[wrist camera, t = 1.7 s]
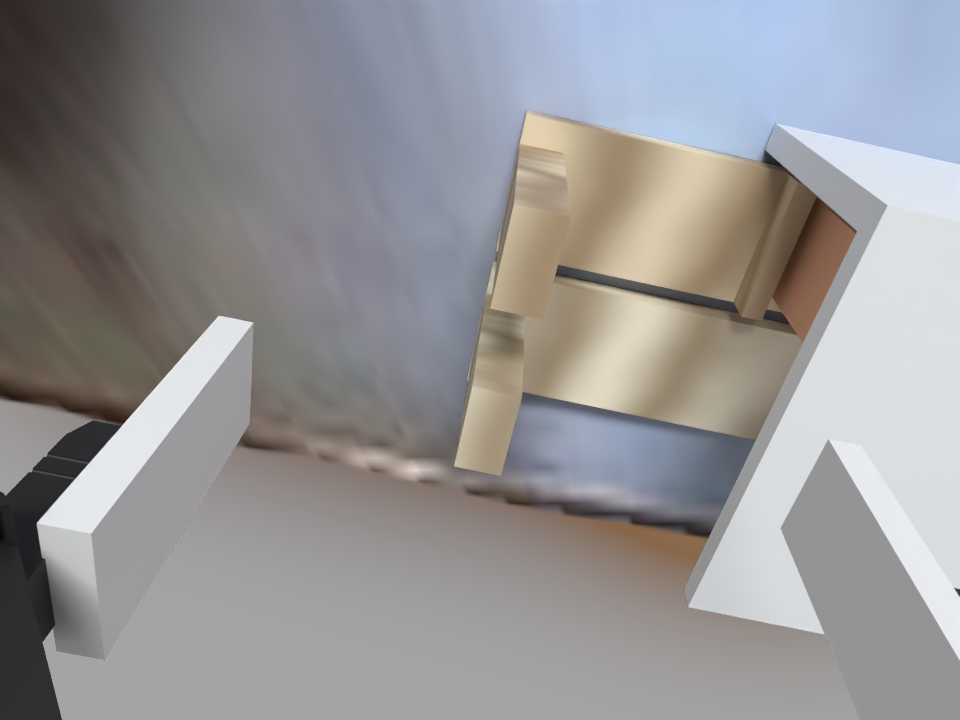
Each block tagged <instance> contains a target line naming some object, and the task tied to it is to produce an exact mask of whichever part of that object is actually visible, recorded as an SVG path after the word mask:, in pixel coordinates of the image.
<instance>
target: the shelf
mask: <svg viewBox="0 0 960 720" xmlns="http://www.w3.org/2000/svg"><path fill="white" fill-rule="evenodd" d="M765 150H766V151H767V152H768V153H769V154H770V155H771V156H772V157H774V158H775V159H776V160H777V161H778V162H779V163H780V164H782V165H783V166H784V167H785V168H786V169H787V170H788V171H789V172H791V173H792V174H793V175H794V176H795V177H796V178H797V179H799V180H800V181H801V182H802V183H803V184H804V185H805V186H807V187H808V188H809V189H810V190H811V191H812V192H813V193H814V194H816V195H817V196H818V197H819V198H820V199H821V200H822V201H824V202H825V203H826V204H827V205H828V206H829V207H830V208H831V209H833V210H834V211H835V212H836V213H837V214H838V215H839V216H841V217H842V218H843V219H844V220H845V221H846V222H847V223H848V224H850V225H851V226H852V227H853V228H854V229H855V230H856V231H857V233H856V235H855V237H854V239H853V241H852V243H851V245H850V247H849V249H848V251H847V253H846V255H845V257H844V259H843V262H842V264H841V266H840V268H839V270H838V272H837V274H836V276H835V278H834V280H833V282H832V284H831V286H830V288H829V290H828V292H827V295H826V297H825V299H824V301H823V303H822V305H821V307H820V309H819V311H818V313H817V315H816V317H815V319H814V321H813V323H812V326H811V328H810V330H809V332H808V334H807V336H806V338H805V340H804V342H803V344H802V346H801V348H800V350H799V352H798V354H797V357H796V359H795V361H794V363H793V365H792V367H791V369H790V371H789V373H788V375H787V377H786V379H785V381H784V383H783V385H782V387H781V390H780V392H779V394H778V396H777V398H776V400H775V402H774V404H773V406H772V408H771V410H770V412H769V414H768V416H767V418H766V421H765V423H764V425H763V427H762V429H761V431H760V433H759V435H758V437H757V439H756V441H755V443H754V445H753V447H752V449H751V452H750V454H749V456H748V458H747V460H746V462H745V464H744V466H743V468H742V470H741V472H740V474H739V476H738V478H737V480H736V482H735V485H734V487H733V489H732V491H731V493H730V495H729V497H728V499H727V501H726V503H725V505H724V507H723V509H722V511H721V513H720V516H719V518H718V520H717V522H716V524H715V526H714V528H713V530H712V532H711V534H710V536H709V538H708V540H707V542H706V544H705V547H704V549H703V551H702V553H701V555H700V557H699V559H698V561H697V564H696V565H695V567H694V570H693V572H692V573H691V575H690V578H689V580H688V582H687V584H686V586H685V588H684V592H685V597H686V601H687V605H688V607H690V608H695V609H700V610H705V611H710V612H715V613H720V614H725V615H730V616H735V617H740V618H745V619H750V620H755V621H760V622H765V623H770V624H776V625H781V626H786V627H791V628H796V629H800V630H805V631H811V632H816V633H821V634H824V632H823V629H822V627H821V625H820V622H819V620H818V617H817V615H816V613H815V610H814V608H813V605H812V603H811V601H810V598H809V596H808V593H807V591H806V589H805V586H804V584H803V581H802V579H801V577H800V574H799V572H798V569H797V567H796V565H795V562H794V560H793V557H792V555H791V553H790V550H789V548H788V546H787V543H786V541H785V538H784V536H783V534H782V531H781V529H780V528H781V526H782V524H783V522H784V521H785V519H786V517H787V515H788V513H789V511H790V509H791V508H792V506H793V504H794V502H795V500H796V498H797V496H798V495H799V493H800V491H801V489H802V487H803V485H804V483H805V481H806V480H807V478H808V476H809V474H810V472H811V470H812V468H813V467H814V465H815V463H816V461H817V459H818V457H819V455H820V454H821V452H822V450H823V448H824V446H825V444H826V442H827V441H828V439H831V440H836V441H841V442H846V443H851V444H856V445H861V446H862V448H863V449H864V451H865V452H866V454H867V455H868V457H869V459H870V460H871V462H872V463H873V465H874V466H875V468H876V469H877V471H878V472H879V474H880V475H881V477H882V479H883V480H884V482H885V483H886V485H887V486H888V488H889V489H890V491H891V492H892V494H893V495H894V497H895V498H896V500H897V502H898V503H899V505H900V506H901V508H902V509H903V511H904V512H905V514H906V515H907V517H908V518H909V520H910V522H911V523H912V525H913V526H914V528H915V529H916V531H917V532H918V534H919V535H920V537H921V538H922V540H923V541H924V543H925V545H926V546H927V548H928V549H929V551H930V552H931V554H932V555H933V557H934V558H935V560H936V561H937V563H938V565H939V566H940V568H941V569H942V571H943V572H944V574H945V575H946V577H947V578H948V580H949V581H950V583H951V584H952V586H953V588H957V589H960V164H955V163H951V162H946V161H942V160H937V159H933V158H928V157H924V156H919V155H915V154H910V153H906V152H901V151H897V150H892V149H888V148H884V147H879V146H875V145H870V144H866V143H861V142H857V141H852V140H848V139H843V138H839V137H834V136H830V135H825V134H821V133H816V132H812V131H807V130H803V129H799V128H794V127H790V126H785V125H781V124H776V123H775V126H774V128H773V131H772V133H771V136H770V138H769V141H768V143H767V146H766V149H765Z"/></svg>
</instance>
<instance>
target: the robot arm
mask: <svg viewBox="0 0 960 720" xmlns="http://www.w3.org/2000/svg"><path fill="white" fill-rule="evenodd" d="M252 346H253V323H252V322H247V321H242V320H238V319H233V318H228V317H223V316H218V317H217V318H216V320H215V321H214V322H213V323H212V324H211V325H210V326H209V328H208V329H207V330H206V331H205V332H204V333H203V334H202V336H201V337H200V338H199V339H198V340H197V341H196V342H195V344H194V345H193V346H192V347H191V348H190V349H189V350H188V351H187V353H186V354H185V355H184V356H183V357H182V358H181V359H180V361H179V362H178V363H177V364H176V365H175V366H174V367H173V369H172V370H171V371H170V372H169V373H168V374H167V375H166V377H165V378H164V379H163V380H162V381H161V382H160V383H159V384H158V386H157V387H156V388H155V389H154V390H153V391H152V392H151V394H150V395H149V396H148V397H147V398H146V399H145V400H144V402H143V403H142V404H141V405H140V406H139V407H138V408H137V410H136V411H135V412H134V413H133V414H132V415H131V416H130V417H129V419H128V420H127V421H126V422H125V423H124V424H123V425H122V426H118V425H113V424H108V423H103V422H98V421H91V422H89V423H87V424H85V425H83V426H81V427H80V428H78V429H76V430H74V431H72V432H70V433H68V434H66V435H65V436H64V437H63V438H62V439H61V440H60V441H59V442H58V443H57V444H56V445H55V446H54V447H53V448H52V449H51V450H50V451H49V452H48V455H47V457H43V458H42V459H41V461H40V462H39V463H38V464H37V465H36V466H35V467H34V468H33V471H32V472H31V473H30V472H29V473H28V474H27V475H26V476H25V477H24V478H23V479H22V480H21V481H20V482H19V483H18V484H17V485H16V486H15V487H14V488H13V489H12V490H11V491H10V492H9V493H8V494H7V495H6V496H5V495H4V494H3V493H2V492H0V720H62V718H61V714H60V710H59V706H58V702H57V698H56V694H55V691H54V687H53V683H52V679H51V675H50V671H49V667H48V663H47V659H46V655H45V651H44V647H43V643H42V642H43V641H44V639H45V638H46V637H47V635H48V634H49V632H50V631H51V630H52V628H53V631H54V637H55V643H56V650H57V651H60V652H65V653H71V654H76V655H81V656H86V657H92V658H97V659H102V660H105V659H106V657H107V655H108V654H109V652H110V650H111V649H112V647H113V645H114V644H115V642H116V641H117V639H118V637H119V635H120V634H121V632H122V631H123V629H124V628H125V626H126V624H127V623H128V621H129V619H130V618H131V616H132V614H133V613H134V611H135V610H136V608H137V606H138V605H139V603H140V601H141V600H142V598H143V596H144V595H145V593H146V592H147V590H148V588H149V587H150V585H151V583H152V582H153V580H154V579H155V577H156V575H157V574H158V572H159V570H160V569H161V567H162V566H163V564H164V562H165V561H166V559H167V557H168V556H169V554H170V553H171V551H172V549H173V548H174V546H175V544H176V543H177V541H178V539H179V538H180V536H181V535H182V533H183V531H184V530H185V528H186V526H187V525H188V523H189V521H190V520H191V518H192V517H193V515H194V513H195V512H196V510H197V508H198V507H199V505H200V503H201V502H202V500H203V499H204V497H205V495H206V493H207V492H208V490H209V489H210V487H211V486H212V484H213V482H214V481H215V479H216V478H217V476H218V474H219V473H220V471H221V469H222V468H223V466H224V464H225V463H226V461H227V460H228V458H229V456H230V455H231V453H232V451H233V450H234V448H235V447H236V445H237V443H238V442H239V440H240V438H241V437H242V435H243V433H244V432H245V430H246V429H247V427H248V425H249V424H250V400H251V373H252ZM780 529H781V531H782V534H783V536H784V538H785V541H786V543H787V546H788V548H789V550H790V553H791V555H792V557H793V560H794V562H795V565H796V567H797V569H798V572H799V574H800V577H801V579H802V581H803V584H804V586H805V589H806V591H807V593H808V596H809V598H810V601H811V603H812V605H813V608H814V610H815V613H816V615H817V617H818V620H819V622H820V625H821V627H822V629H823V632H824V634H825V636H826V639H827V641H828V643H829V646H830V648H831V651H832V653H833V655H834V658H835V660H836V663H837V665H838V668H839V670H840V672H841V675H842V677H843V679H844V682H845V684H846V687H847V689H848V692H849V694H850V696H851V699H852V701H853V703H854V705H855V708H856V711H857V713H858V715H859V718H860V720H960V589H957V588H953V586H952V584H951V583H950V581H949V580H948V578H947V577H946V575H945V574H944V572H943V571H942V569H941V568H940V566H939V565H938V563H937V561H936V560H935V558H934V557H933V555H932V554H931V552H930V551H929V549H928V548H927V546H926V545H925V543H924V541H923V540H922V538H921V537H920V535H919V534H918V532H917V531H916V529H915V528H914V526H913V525H912V523H911V522H910V520H909V518H908V517H907V515H906V514H905V512H904V511H903V509H902V508H901V506H900V505H899V503H898V502H897V500H896V498H895V497H894V495H893V494H892V492H891V491H890V489H889V488H888V486H887V485H886V483H885V482H884V480H883V479H882V477H881V475H880V474H879V472H878V471H877V469H876V468H875V466H874V465H873V463H872V462H871V460H870V459H869V457H868V455H867V454H866V452H865V451H864V449H863V448H862V446H861V445H856V444H851V443H846V442H841V441H836V440H831V439H828V441H827V442H826V444H825V446H824V448H823V450H822V452H821V454H820V455H819V457H818V459H817V461H816V463H815V465H814V467H813V468H812V470H811V472H810V474H809V476H808V478H807V480H806V481H805V483H804V485H803V487H802V489H801V491H800V493H799V495H798V496H797V498H796V500H795V502H794V504H793V506H792V508H791V509H790V511H789V513H788V515H787V517H786V519H785V521H784V522H783V524H782V526H781V528H780Z"/></svg>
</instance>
